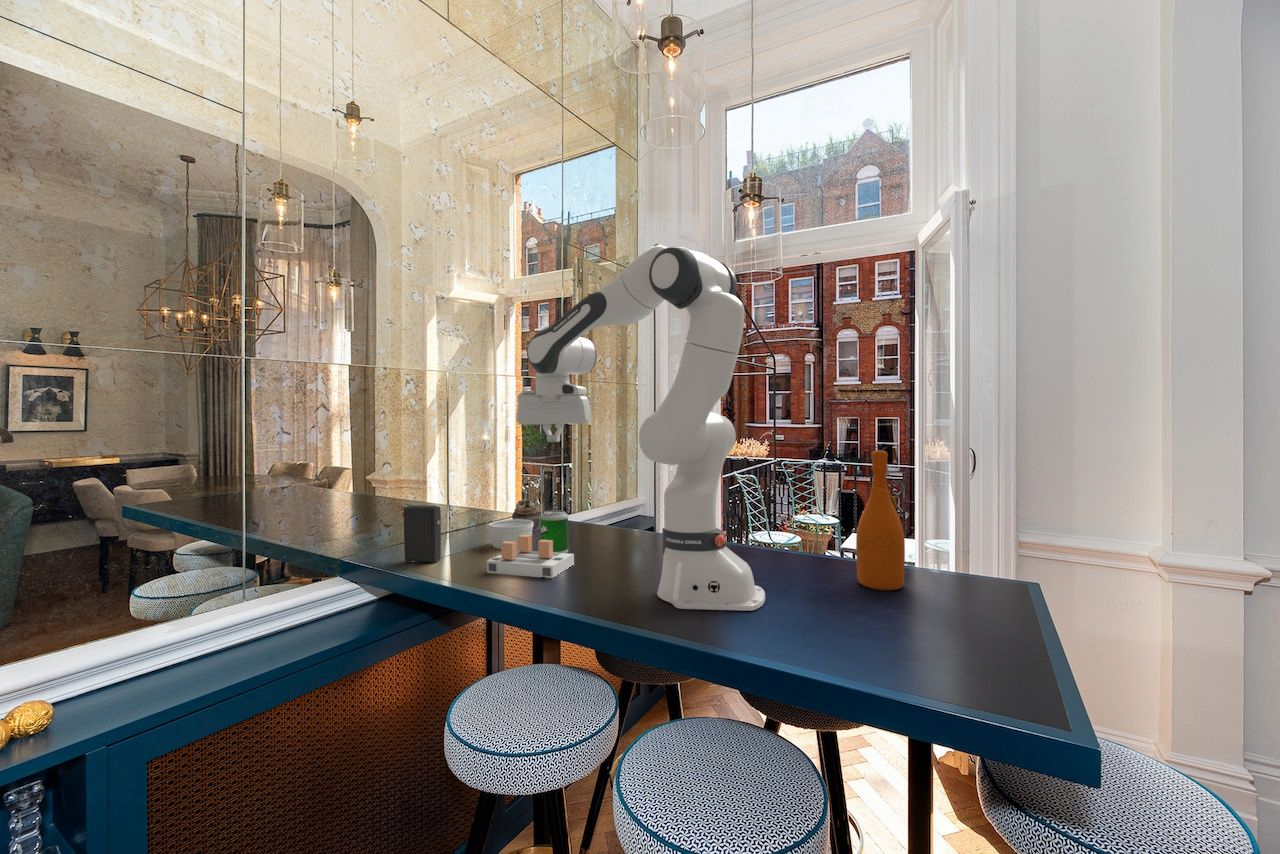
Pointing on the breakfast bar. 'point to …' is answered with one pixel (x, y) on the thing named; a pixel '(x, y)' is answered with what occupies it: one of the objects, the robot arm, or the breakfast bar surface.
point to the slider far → (524, 543)
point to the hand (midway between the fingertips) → (553, 441)
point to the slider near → (508, 550)
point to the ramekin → (509, 531)
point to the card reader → (422, 533)
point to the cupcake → (527, 513)
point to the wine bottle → (880, 534)
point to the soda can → (555, 529)
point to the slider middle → (545, 548)
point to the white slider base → (531, 564)
